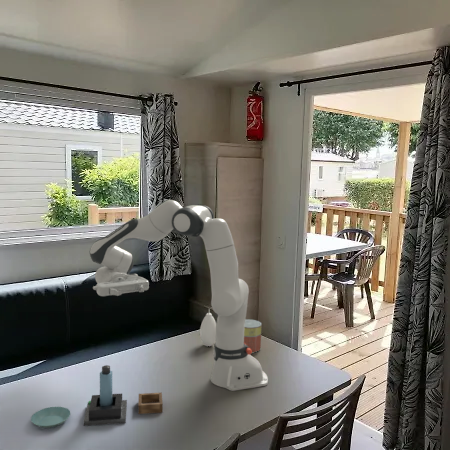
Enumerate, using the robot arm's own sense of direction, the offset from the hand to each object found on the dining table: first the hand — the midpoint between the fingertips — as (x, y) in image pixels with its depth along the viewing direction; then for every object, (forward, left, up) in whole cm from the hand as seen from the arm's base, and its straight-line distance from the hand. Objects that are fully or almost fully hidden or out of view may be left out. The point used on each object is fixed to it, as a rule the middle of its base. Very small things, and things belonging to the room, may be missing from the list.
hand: (130, 291), depth 173 cm
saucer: (+24, +26, -35) cm, 50 cm away
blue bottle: (+7, +24, -33) cm, 42 cm away
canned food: (-53, -26, -35) cm, 68 cm away
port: (+7, +24, -35) cm, 43 cm away
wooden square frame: (-7, +21, -35) cm, 42 cm away
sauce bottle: (-35, -31, -35) cm, 58 cm away
